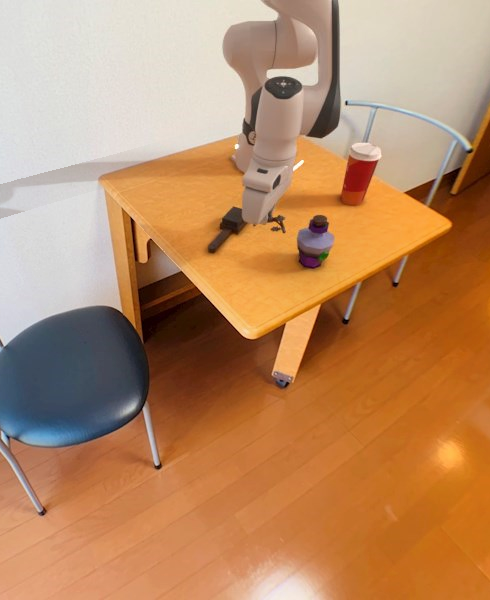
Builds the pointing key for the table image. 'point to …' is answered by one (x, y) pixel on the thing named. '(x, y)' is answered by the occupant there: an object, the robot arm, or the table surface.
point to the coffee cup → (359, 172)
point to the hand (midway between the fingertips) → (265, 220)
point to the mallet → (228, 228)
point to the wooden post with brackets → (277, 220)
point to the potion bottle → (314, 242)
